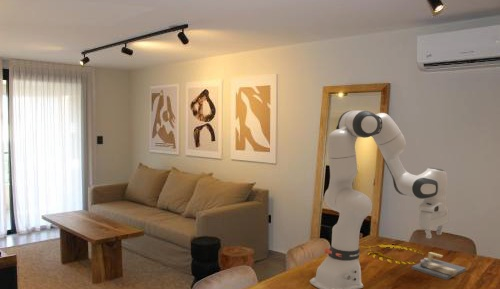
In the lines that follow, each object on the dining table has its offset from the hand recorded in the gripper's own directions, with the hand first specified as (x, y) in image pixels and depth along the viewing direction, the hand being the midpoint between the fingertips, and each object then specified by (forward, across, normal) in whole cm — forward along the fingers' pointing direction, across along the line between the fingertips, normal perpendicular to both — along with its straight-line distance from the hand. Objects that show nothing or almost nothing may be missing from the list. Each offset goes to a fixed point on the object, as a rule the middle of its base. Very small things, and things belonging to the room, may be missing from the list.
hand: (433, 236), depth 170 cm
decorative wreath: (+19, -16, -30) cm, 38 cm away
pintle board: (+18, -11, -2) cm, 22 cm away
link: (+17, -6, -1) cm, 18 cm away
